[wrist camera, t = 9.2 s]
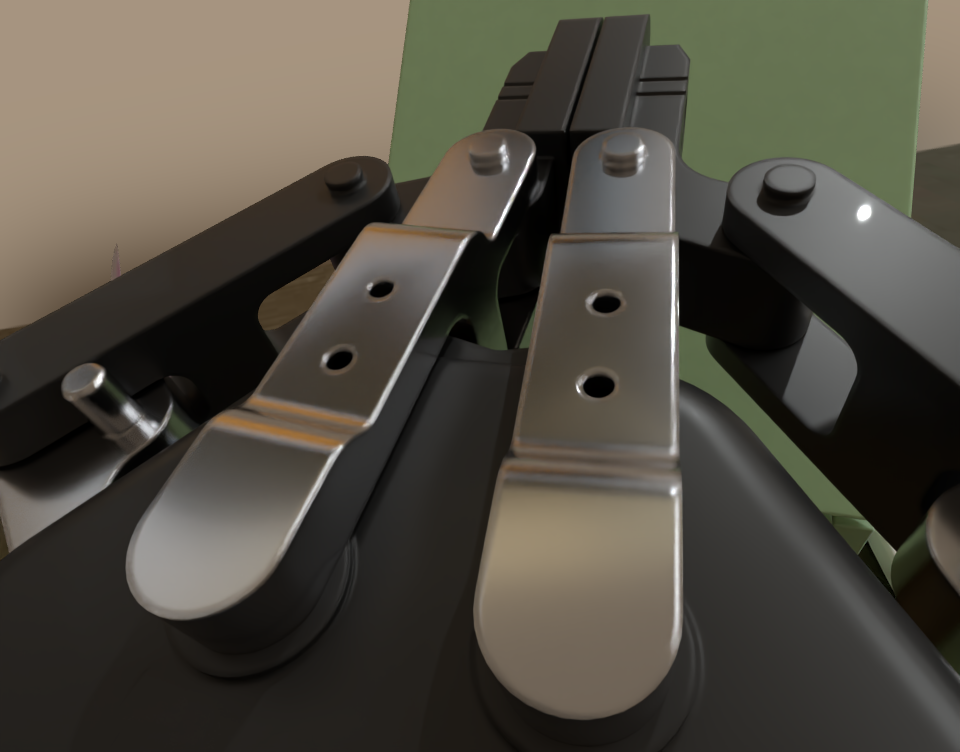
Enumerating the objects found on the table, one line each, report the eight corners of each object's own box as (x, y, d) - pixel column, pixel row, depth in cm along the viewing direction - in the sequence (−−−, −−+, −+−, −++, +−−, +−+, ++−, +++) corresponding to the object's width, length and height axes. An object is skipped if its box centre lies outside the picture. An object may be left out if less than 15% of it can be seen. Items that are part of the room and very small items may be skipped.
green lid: (430, -66, 18) (420, -88, 17) (927, -119, 15) (941, -150, 14) (363, 446, 17) (349, 447, 17) (876, 519, 14) (887, 523, 13)
